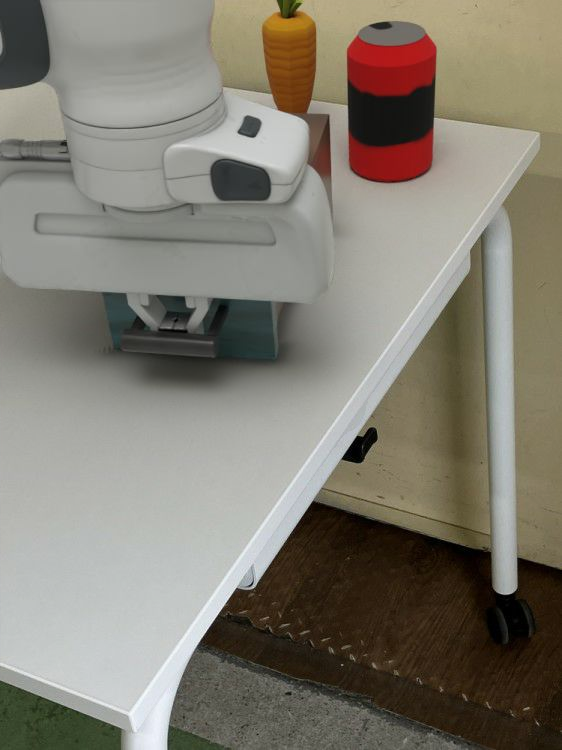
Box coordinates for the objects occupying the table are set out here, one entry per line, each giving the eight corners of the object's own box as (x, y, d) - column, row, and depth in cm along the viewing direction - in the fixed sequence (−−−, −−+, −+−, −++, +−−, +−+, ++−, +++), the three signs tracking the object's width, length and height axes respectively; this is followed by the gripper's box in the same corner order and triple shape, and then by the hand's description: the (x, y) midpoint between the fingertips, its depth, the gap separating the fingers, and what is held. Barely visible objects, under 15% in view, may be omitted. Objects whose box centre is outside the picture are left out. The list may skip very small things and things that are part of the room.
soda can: (407, 138, 96) (410, 11, 88) (447, 171, 90) (454, 38, 82) (335, 156, 94) (331, 27, 86) (371, 190, 88) (371, 56, 80)
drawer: (262, 416, 64) (253, 316, 59) (92, 402, 66) (70, 305, 61) (309, 262, 78) (305, 171, 73) (168, 255, 80) (154, 165, 75)
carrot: (270, 121, 100) (259, -35, 91) (319, 119, 100) (314, -37, 91) (267, 143, 96) (256, -17, 87) (319, 141, 96) (313, -19, 87)
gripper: (-49, 164, 55) (8, 362, 64) (319, 176, 52) (327, 384, 60) (-4, 115, 60) (44, 305, 69) (336, 122, 56) (341, 322, 65)
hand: (179, 342), depth 64 cm, fingers closed, pressing on drawer
